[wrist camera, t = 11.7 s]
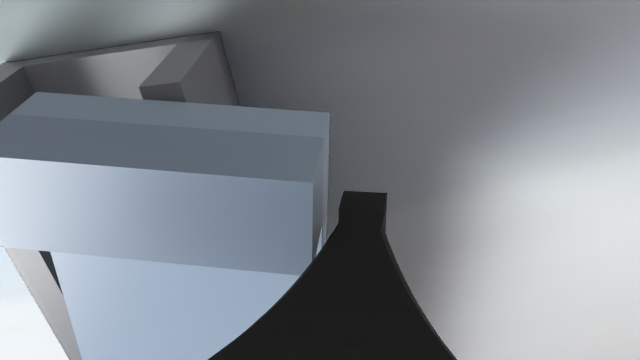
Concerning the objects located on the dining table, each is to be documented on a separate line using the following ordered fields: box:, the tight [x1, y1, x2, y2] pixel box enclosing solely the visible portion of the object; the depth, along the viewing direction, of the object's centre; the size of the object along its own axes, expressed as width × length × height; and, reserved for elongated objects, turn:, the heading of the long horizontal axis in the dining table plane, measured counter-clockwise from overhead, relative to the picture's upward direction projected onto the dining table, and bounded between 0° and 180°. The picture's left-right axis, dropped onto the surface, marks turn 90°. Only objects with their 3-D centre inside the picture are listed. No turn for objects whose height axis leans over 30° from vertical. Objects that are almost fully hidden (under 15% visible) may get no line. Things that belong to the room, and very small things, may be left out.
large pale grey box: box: [0, 31, 240, 360], centre depth 18 cm, size 16×6×3 cm, turn 11°
